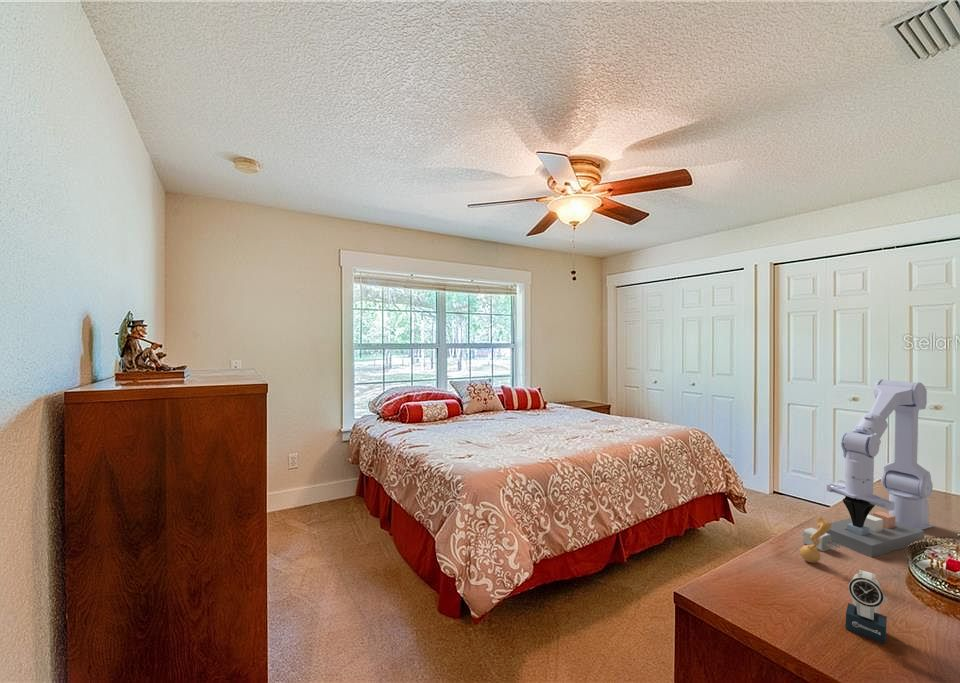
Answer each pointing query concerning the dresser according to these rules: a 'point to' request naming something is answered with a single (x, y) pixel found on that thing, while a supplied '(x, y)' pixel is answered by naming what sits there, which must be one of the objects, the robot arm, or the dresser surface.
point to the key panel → (874, 538)
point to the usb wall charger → (823, 540)
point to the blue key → (858, 529)
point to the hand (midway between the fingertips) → (858, 526)
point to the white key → (874, 523)
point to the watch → (866, 607)
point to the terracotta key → (886, 519)
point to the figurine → (815, 542)
